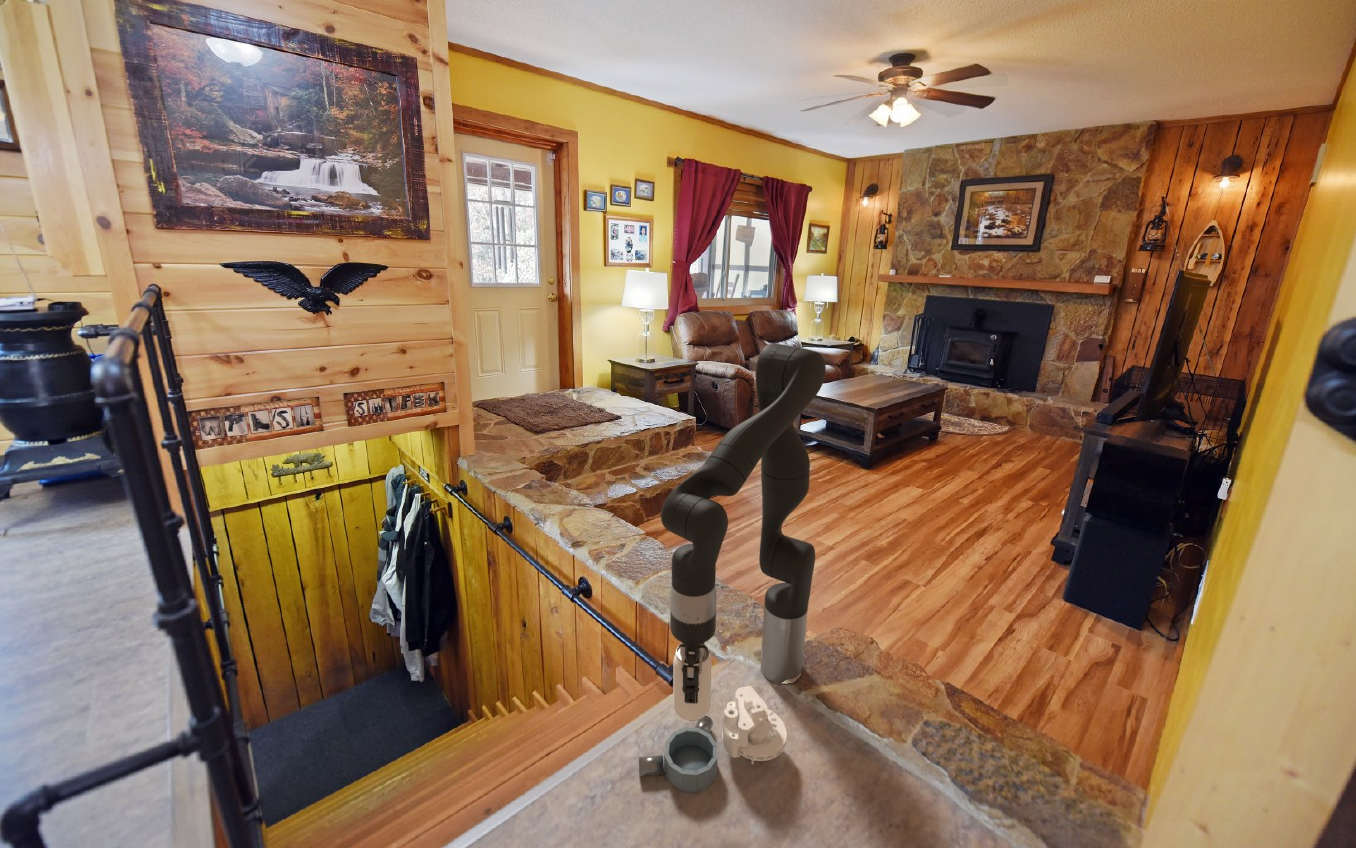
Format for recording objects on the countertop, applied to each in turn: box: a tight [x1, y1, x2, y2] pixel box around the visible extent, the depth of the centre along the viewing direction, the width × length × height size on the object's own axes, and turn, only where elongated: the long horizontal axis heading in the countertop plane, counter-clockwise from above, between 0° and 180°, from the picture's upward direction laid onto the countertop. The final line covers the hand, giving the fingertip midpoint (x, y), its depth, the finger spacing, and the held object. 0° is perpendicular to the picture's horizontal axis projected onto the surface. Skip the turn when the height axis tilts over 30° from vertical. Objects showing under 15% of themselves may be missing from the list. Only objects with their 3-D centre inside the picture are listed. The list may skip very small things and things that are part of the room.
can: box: [672, 643, 712, 722], centre depth 95 cm, size 6×6×12 cm
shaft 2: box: [694, 715, 714, 735], centre depth 108 cm, size 4×3×3 cm
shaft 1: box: [638, 754, 665, 777], centre depth 101 cm, size 4×3×3 cm
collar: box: [663, 726, 718, 794], centre depth 102 cm, size 10×10×4 cm
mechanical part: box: [721, 685, 788, 765], centre depth 104 cm, size 11×12×12 cm
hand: (692, 687), depth 96 cm, fingers closed on can, 5 cm apart
